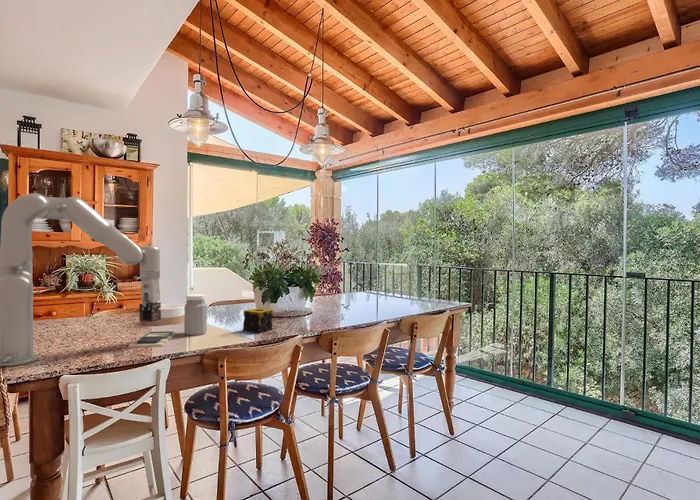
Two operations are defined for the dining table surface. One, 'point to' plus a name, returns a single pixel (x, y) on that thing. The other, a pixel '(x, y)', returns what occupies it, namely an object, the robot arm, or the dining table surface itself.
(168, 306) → the bowl
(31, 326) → the robot arm
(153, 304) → the box
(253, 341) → the dining table surface
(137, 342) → the stamp board
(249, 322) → the candle
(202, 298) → the jar
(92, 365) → the dining table surface
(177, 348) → the dining table surface
